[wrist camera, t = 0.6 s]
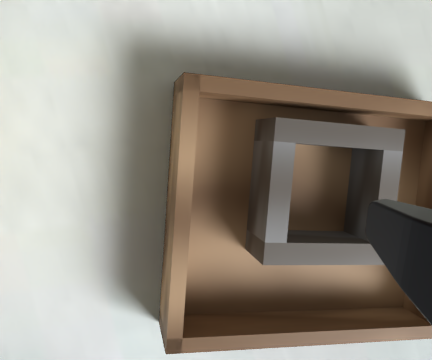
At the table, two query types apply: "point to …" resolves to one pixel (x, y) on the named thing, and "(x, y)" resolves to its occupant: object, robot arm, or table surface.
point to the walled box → (286, 215)
